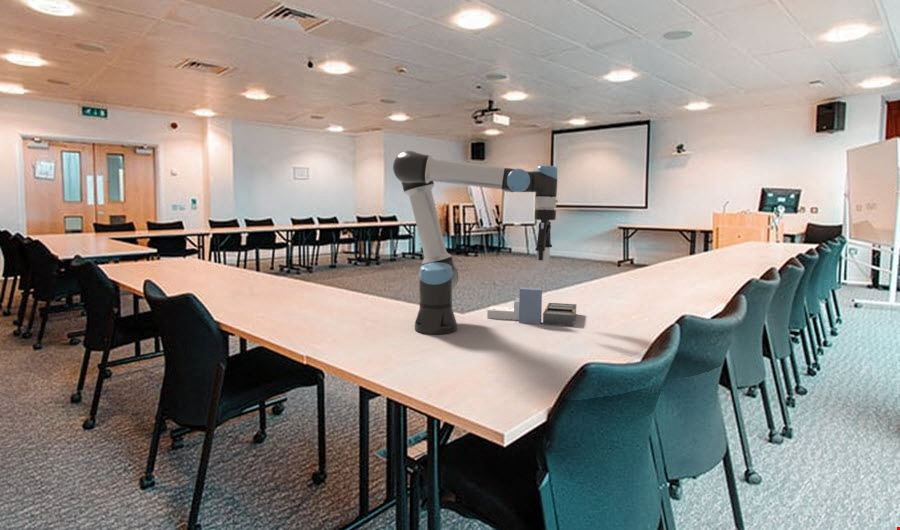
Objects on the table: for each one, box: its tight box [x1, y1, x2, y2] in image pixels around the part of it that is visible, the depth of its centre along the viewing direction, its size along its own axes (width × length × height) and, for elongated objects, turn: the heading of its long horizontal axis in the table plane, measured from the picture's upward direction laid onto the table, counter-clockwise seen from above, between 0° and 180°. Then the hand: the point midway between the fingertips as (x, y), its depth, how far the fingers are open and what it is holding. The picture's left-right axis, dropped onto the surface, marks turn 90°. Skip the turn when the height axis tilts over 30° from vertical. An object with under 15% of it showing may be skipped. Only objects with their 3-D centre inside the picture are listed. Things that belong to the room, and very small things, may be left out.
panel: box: [518, 287, 543, 325], centre depth 203 cm, size 8×4×13 cm, turn 74°
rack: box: [542, 302, 577, 327], centre depth 210 cm, size 11×21×4 cm, turn 164°
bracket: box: [486, 297, 520, 321], centre depth 212 cm, size 13×7×8 cm, turn 77°
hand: (543, 266), depth 198 cm, fingers open, 13 cm apart
